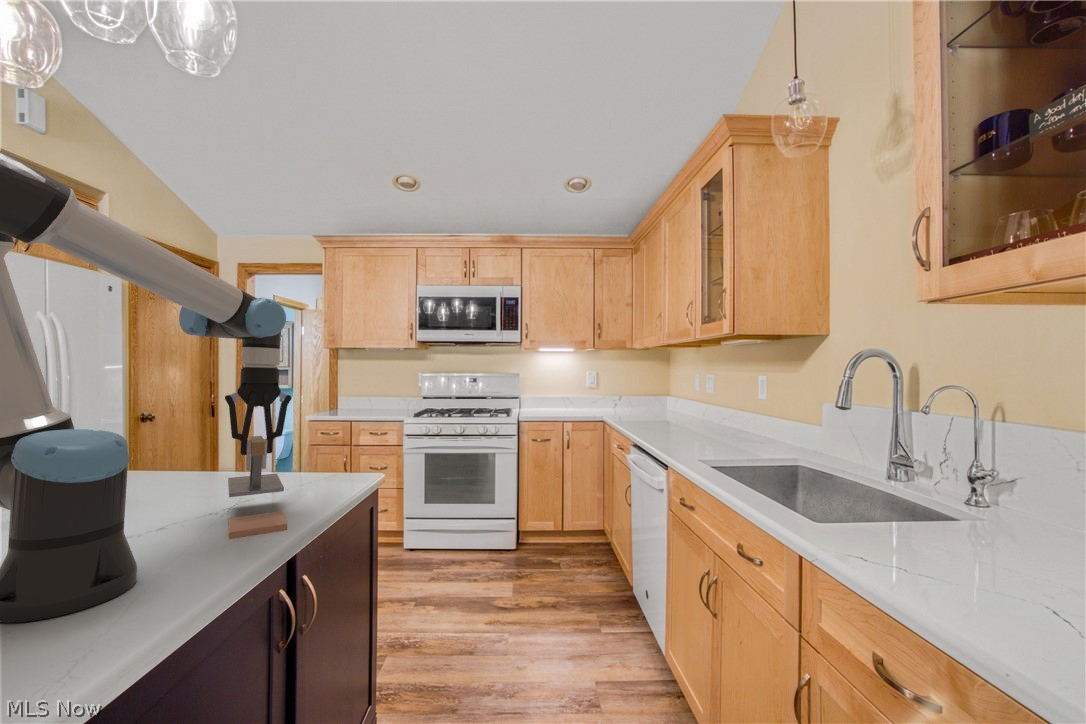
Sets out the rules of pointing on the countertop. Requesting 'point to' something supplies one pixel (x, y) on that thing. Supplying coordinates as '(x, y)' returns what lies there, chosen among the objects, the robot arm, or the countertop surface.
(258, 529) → the tile
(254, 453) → the trowel
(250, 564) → the countertop surface
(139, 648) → the countertop surface
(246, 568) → the countertop surface
